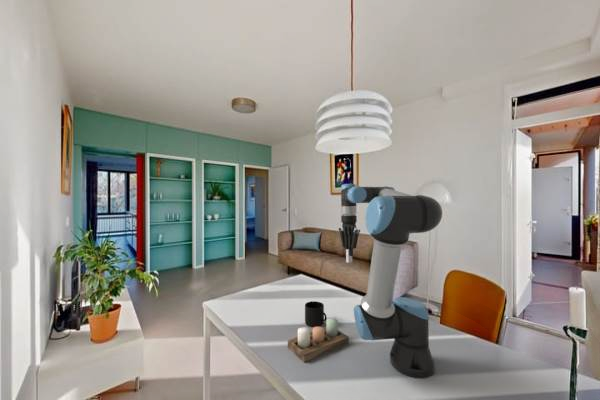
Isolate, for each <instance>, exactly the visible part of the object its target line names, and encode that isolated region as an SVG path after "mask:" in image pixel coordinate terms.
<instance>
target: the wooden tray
mask: <svg viewBox="0 0 600 400" xmlns="http://www.w3.org/2000/svg"><path fill="white" fill-rule="evenodd" d="M323 328H324V332H325V341H324V342H321V343H318V344H317V343H315V342H314V341H313V331H310V347H308V348H306V349H301V348H299V347H298V336H297V337H293V338H290V339H288V340H287V348H288V350H289V351H291V352H292V354H294V355H295V356H296V357H297V358H298V359H300V361H302V362H303V364H304V363H307V362H309V361H311V360H314V359H316V358H318V357H321V356H323V355H326V354H328V353H330V352H332V351H335V350H337V349H340V348H342V347H344V346H347V345H349V344H350V342H349V338H350V337H349V336H348V335H346V334H345V333H344V332H342V331H340V330H339V329H338V336H336V337H334V338H332V337H329V336H327V334H326V326H324V327H323Z"/></svg>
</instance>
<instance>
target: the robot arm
mask: <svg viewBox="0 0 600 400" xmlns="http://www.w3.org/2000/svg"><path fill="white" fill-rule="evenodd" d="M340 198H341V199H340V201H341V202H340V203H341V204H340V206H341V207H340V212H341V213H340V214H341V215H340V218H341V220H340V222H341V223H342V225H341V227H339V228H338V232H339V236H340V239H341V245H342V246H341V247H342V248H344V249H345V250H344V251H345V258H346V259H345V262H346V263H347V264H348V263H353V255H354V249H357V246H358V241H359V235H360V232H361V230H360V229H358V228H357V225H356V224H357V217H358V216H357V204H368V205H367V208H366V211H365V218H364V220H365V228H366V230H367V232H368V233H369V234H370V237H371V238H372V239H373V247H372V254H371V262H370V268H369V275H368V283H367V289H366V294H365V295H364V296H363V297H362V298H361V301H360V304H356V305H355V306H354V308H353V317H354V321H355V326H356V329H357V332H358V334H359V336H360V338H361V339H363V340H364V341H379V340H380V341H381V340H393V342H392V346H391V349H390V353H389V363H390V364H391V366H392V367H393V368H394V370H396V371H398V372H399V373H401V374H403V375H405V376H408V377H412V378H419V379H423V378H424V379H425V378H428V377H431V376H432V375H434V373H435V361H434V358H433V355H432V352H431V349H430V345H429V344H430V339H429V338H430V336H429V331H430V330H429V326H430V325H429V320H430V318H429V309H428V307H427V306H426V304H424V303H422V302H421V301H418V300H416V299H413V298H409V297H405V296H404V297H403V296H402V297H401V296H399V297H398V296H397V297H395V298H394V299H393V295H394V291H395V285H396V280H397V274H398V269H399V264H400V259H401V252H402V247H403V246H404V245H406V244H408V242H409V239H410V238H409V237H410V234H420V233H421V234H423V233H427V232H430V231H432V230H434V229H435V228H436V227H438V225H439V224H440V222H441V221H442V219H443V218H442V217H443V209H442V205H440V202H438V201H437V200H436V199H435V198H433V197H432V196H426V195H422V194H416V195H413V194H412V195H411V194H409V193H405V192H401V191H398V190H396V189H395V187H392V186H359V185H356V184H355V183H344V184H342V185H341V187H340ZM392 301H393V302H392Z"/></svg>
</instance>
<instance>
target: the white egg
mask: <svg viewBox="0 0 600 400" xmlns="http://www.w3.org/2000/svg"><path fill="white" fill-rule="evenodd" d="M310 332H311V330H310V328H309V327H305V326H303V327H299V328H298V329H297V337H298V347H299V348H300V349H301V350H303V349H306V348H308V347H310Z"/></svg>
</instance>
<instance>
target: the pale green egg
mask: <svg viewBox="0 0 600 400" xmlns="http://www.w3.org/2000/svg"><path fill="white" fill-rule="evenodd" d="M325 322H326V323H325V324H326V326H325V327H326V334H327V336H329V337H330V338H334V337H336V336H338V330H339V320H338V319H337V318H334V317H330V318H327V319H326V321H325Z"/></svg>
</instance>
